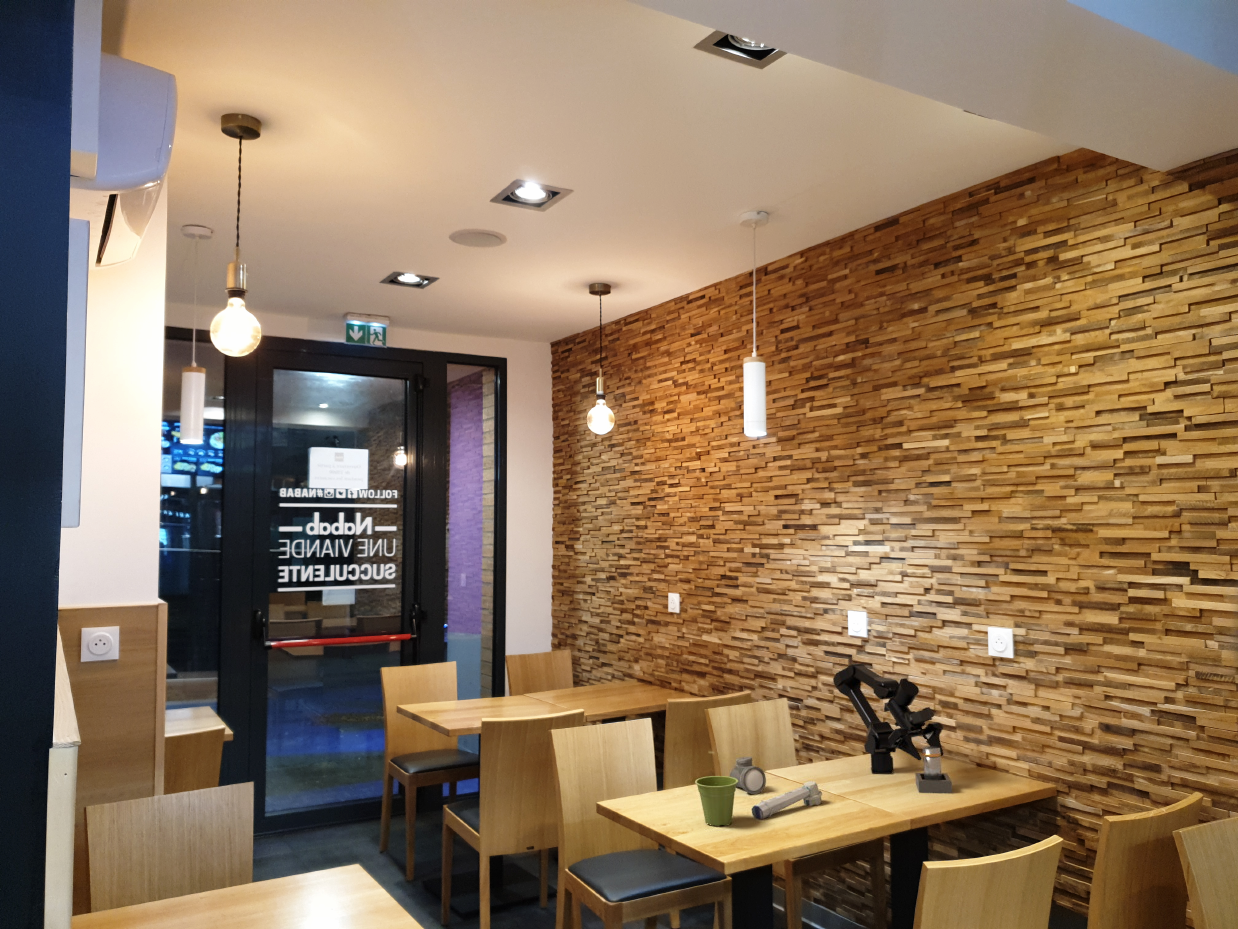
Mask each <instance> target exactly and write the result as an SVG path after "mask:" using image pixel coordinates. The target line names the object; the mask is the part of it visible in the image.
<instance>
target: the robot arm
mask: <svg viewBox="0 0 1238 929" xmlns="http://www.w3.org/2000/svg"><path fill="white" fill-rule="evenodd" d="M832 682H833V685H834V686H835V687H836V690H837V691H839V693H840V694H842V695H844V696H846V697H847V698H848V699H849V701H850V703H851V704H852V706H853V707H854V709H855V711H856V712H857V714H858V715H859V718H860V719H861V721H862V723H863V724H864V725H865V726H864V727H866V729H867V736H866V738H867V740H866V742H865V743H864V745H863V746H864V750H865V753H867V754H870V770H871V774H885V775H889V774H890V775H891V774H893V771H894V759H893V756H892V753H896V751H897V749H898V750H901V751H902V752H904V753H906V754H908V755H909V756H911V757H913V758H914V759H915V760H918V762H920V761H921V760H923V757H921V755H920V754H921V753H919V751H918V749H917V748H916V746H915V744H914V742H913V738H916V737H922V738H923V739H924V740H925V743H927V745H929V746H933V747H939V748H940V752H941V756H940V757H943V756H944V753H945V752H944V750H943V746H942V743H941V739H940V736H941V735H940V734H941V733H942V731H943V730H944V726H943V725H942V723H941V722H940V721H934V722H933V721H932V720H933V717H934V716H935V713H934V711H933V710H932V708H930V706H927V707H924V708H922V709H921V710H918V711H917V710H915V711H914V710H913V711H912V710H911V708H909V706H911V705H912V704H913V702H914V700H916V698H917V696H918V694H919V692H920V689H919V687H918V685H916V684H915V683H914V682H912V681H910V680H908V678H907V677H905V678H901V679H900V680H899V681H898V680H896V679H894V678H891V677H890V678H889V677H883V676H881V675H879V674H878V673H876V672H875V671H873V670H871V669H870V668H868V667H866V666H865V664H864V663H851V664H849V665H848V666H847V667H846V668H844V669H842V670H840V671H838V672H836V673H835V674H834V677H833V680H832ZM862 683H864V684H865V685H866V686H868V687H870V688H871V689H872V691H873V694H874V695H875V696H876V697H877V698H878V699H880V700H888V701H887V702H884V708H883V711H884V713H887V712H889V713H890V715H891V716H892V717H893V719H894V720H895V723H894V725H895V727H899V728H895V729H893V727H892V726H891V723H890V722H889V721H883V722H882V721H881V720H880V717H878V716H879V715H877V714H876V711H875V710H874V709H873V707H872V706H871V704H870V702H869V701H868V699H867V697H866V696H865V695H864V693H863V691H862V690H861V688H862V687H861V686H862ZM929 721H932V722H930V723H928V724H927V725H926V722H929ZM924 726H925V727H924ZM923 727H924V728H923Z"/></svg>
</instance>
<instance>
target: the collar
mask: <svg viewBox="0 0 1238 929" xmlns="http://www.w3.org/2000/svg"><path fill="white" fill-rule="evenodd" d="M941 774H942V780H924V772H915V774H914V775H915V786H916V788H917V791H918V793H919V794H921V793H922V794H924V793H925V794H953V784H952V783H953V782H952V779H951V778H950V775H949V774H948V773H947V772H945V773H943V772H941Z"/></svg>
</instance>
